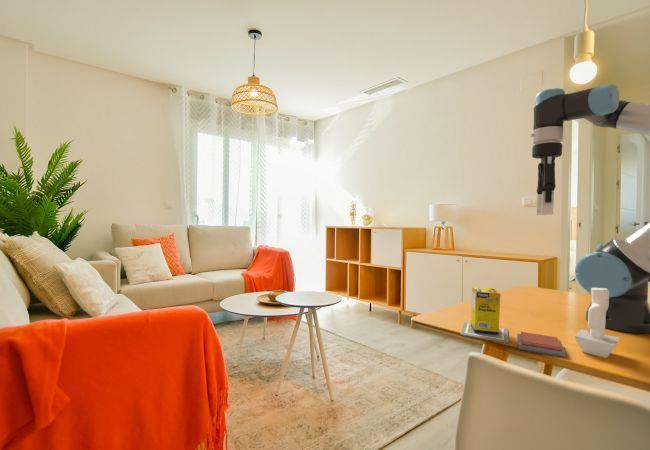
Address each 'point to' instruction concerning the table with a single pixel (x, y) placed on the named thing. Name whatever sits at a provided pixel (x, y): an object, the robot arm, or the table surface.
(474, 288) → the supplement box
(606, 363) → the table surface
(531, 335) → the ink pad
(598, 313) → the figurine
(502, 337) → the marked card
